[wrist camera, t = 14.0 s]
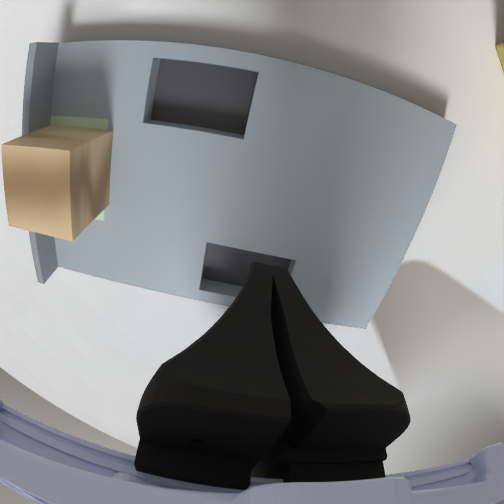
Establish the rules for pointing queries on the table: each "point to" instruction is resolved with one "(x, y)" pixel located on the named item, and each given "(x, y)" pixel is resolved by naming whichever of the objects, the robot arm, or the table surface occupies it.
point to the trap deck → (238, 171)
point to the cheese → (501, 53)
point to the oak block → (57, 179)
